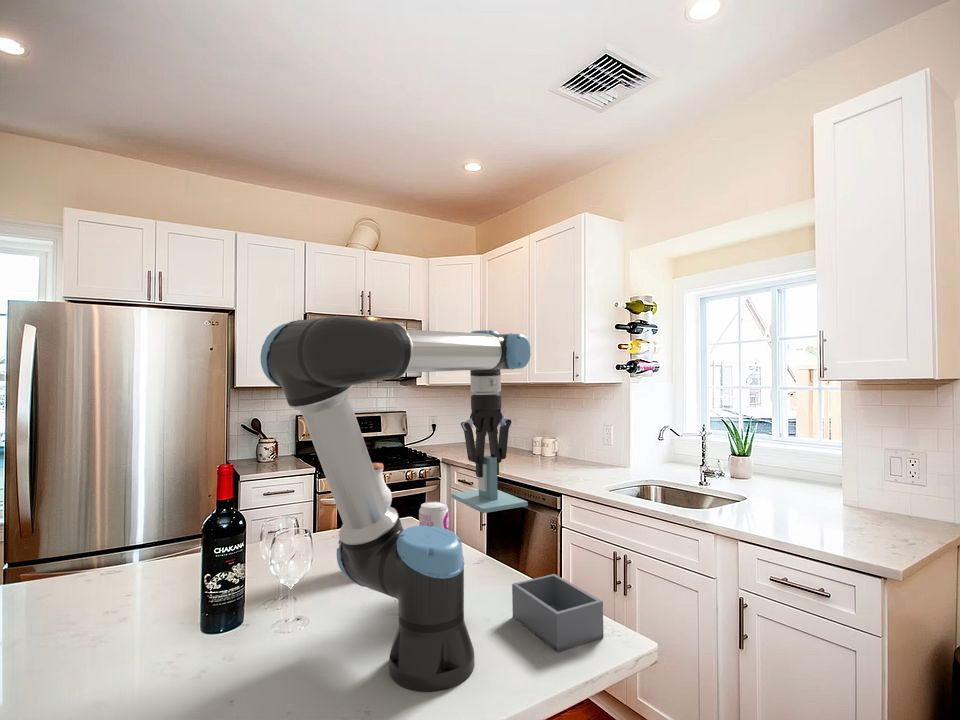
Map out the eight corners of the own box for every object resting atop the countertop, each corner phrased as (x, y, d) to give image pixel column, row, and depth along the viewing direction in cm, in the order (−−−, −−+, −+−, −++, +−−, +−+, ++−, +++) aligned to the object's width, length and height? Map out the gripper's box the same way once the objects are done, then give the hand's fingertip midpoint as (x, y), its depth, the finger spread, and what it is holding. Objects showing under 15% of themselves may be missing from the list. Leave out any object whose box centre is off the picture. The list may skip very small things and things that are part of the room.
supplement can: (451, 553, 150) (450, 501, 151) (446, 564, 142) (445, 508, 142) (423, 552, 151) (422, 500, 151) (417, 563, 143) (416, 508, 143)
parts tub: (603, 637, 102) (602, 601, 102) (557, 652, 97) (556, 614, 97) (555, 605, 116) (554, 573, 116) (512, 617, 111) (512, 583, 111)
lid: (527, 505, 123) (526, 459, 123) (482, 513, 118) (481, 464, 118) (492, 491, 138) (491, 449, 138) (451, 497, 133) (450, 454, 133)
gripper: (465, 395, 122) (467, 496, 121) (520, 392, 129) (522, 488, 128) (451, 394, 128) (453, 490, 128) (504, 391, 135) (506, 483, 135)
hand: (487, 489), depth 128 cm, fingers closed on lid, 2 cm apart
